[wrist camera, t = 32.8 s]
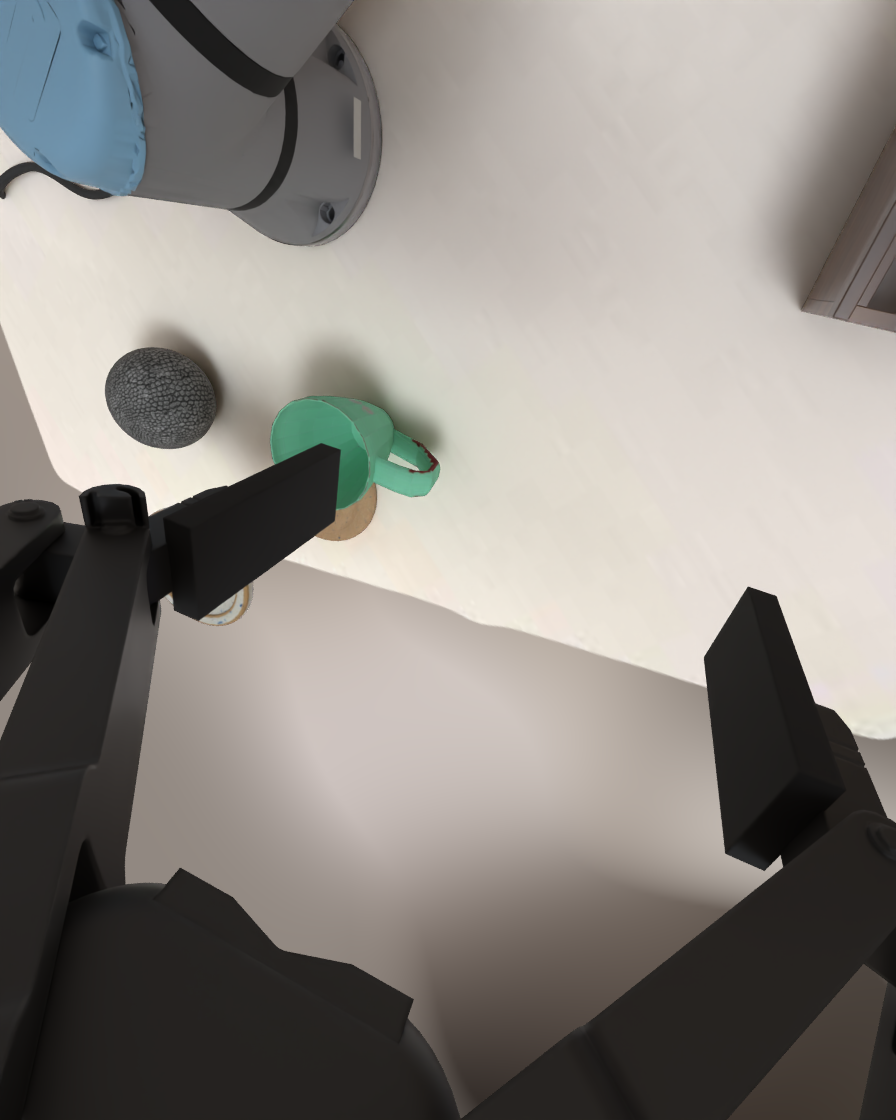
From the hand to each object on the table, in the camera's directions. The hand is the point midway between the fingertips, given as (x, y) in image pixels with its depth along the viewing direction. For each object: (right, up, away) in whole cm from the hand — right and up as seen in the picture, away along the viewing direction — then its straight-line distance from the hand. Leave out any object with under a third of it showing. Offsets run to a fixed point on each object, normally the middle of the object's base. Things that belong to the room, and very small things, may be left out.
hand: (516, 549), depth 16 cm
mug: (-7, +12, +35) cm, 38 cm away
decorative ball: (-30, +19, +41) cm, 54 cm away
